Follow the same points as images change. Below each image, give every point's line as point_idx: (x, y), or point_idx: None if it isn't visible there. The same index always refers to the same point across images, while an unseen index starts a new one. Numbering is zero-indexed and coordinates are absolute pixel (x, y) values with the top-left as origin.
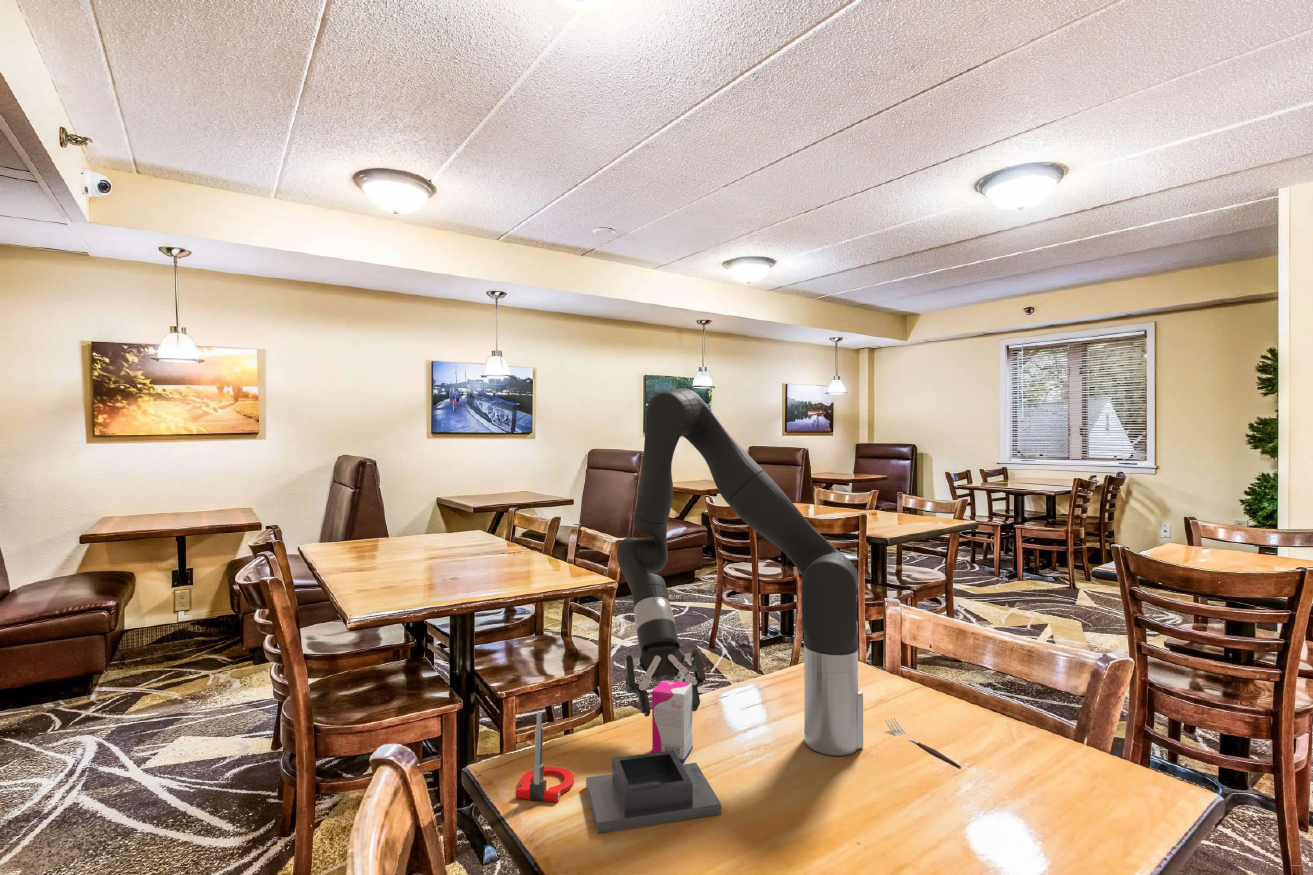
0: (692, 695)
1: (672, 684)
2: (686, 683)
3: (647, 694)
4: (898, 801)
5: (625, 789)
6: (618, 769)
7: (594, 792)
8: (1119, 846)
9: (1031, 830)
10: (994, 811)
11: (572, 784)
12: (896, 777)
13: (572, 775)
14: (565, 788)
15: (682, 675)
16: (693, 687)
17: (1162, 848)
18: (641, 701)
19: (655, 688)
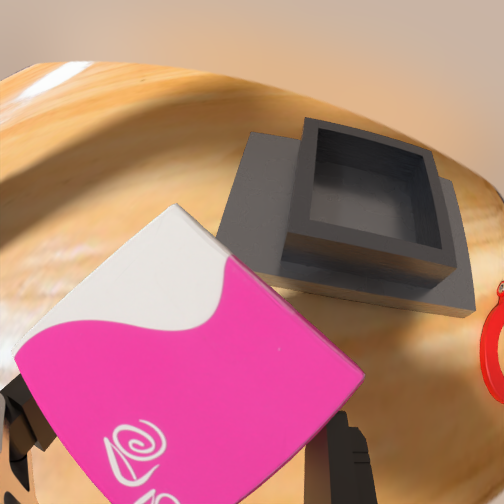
0: None
1: (132, 420)
2: (36, 365)
3: (332, 481)
4: (46, 116)
5: (430, 156)
6: (444, 217)
7: (462, 252)
8: (27, 72)
9: (34, 82)
10: (22, 99)
11: (484, 327)
12: (3, 149)
13: (487, 350)
14: (496, 307)
15: (4, 475)
16: (14, 391)
17: (19, 72)
18: (364, 463)
19: (321, 413)
